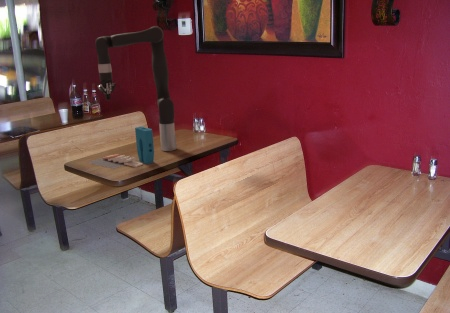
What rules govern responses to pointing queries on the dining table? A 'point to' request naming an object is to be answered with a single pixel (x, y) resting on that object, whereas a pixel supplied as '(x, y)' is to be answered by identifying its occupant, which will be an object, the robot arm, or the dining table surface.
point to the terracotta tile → (111, 156)
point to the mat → (107, 163)
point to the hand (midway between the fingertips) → (108, 100)
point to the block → (145, 144)
